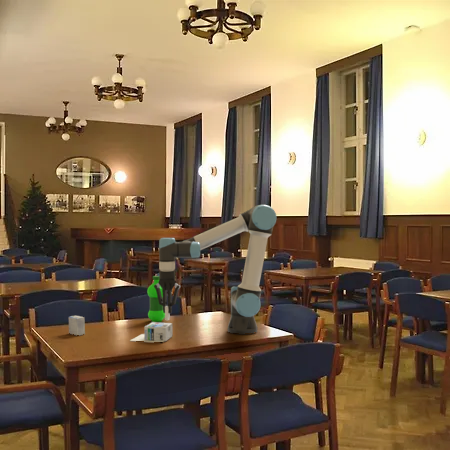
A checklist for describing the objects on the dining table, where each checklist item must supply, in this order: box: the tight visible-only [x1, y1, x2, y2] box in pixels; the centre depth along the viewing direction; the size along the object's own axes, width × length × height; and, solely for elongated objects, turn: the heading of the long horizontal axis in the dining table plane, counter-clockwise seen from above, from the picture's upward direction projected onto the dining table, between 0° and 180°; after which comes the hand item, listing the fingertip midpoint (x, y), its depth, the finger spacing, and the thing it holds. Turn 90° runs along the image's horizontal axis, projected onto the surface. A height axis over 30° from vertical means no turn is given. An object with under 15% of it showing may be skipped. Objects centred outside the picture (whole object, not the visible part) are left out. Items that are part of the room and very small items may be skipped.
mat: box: [129, 333, 165, 343], centre depth 276 cm, size 16×15×1 cm
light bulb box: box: [143, 321, 173, 342], centre depth 274 cm, size 11×7×11 cm
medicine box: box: [68, 315, 86, 336], centre depth 286 cm, size 8×4×9 cm, turn 47°
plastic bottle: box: [146, 275, 165, 323], centre depth 319 cm, size 10×10×25 cm
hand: (167, 319), depth 273 cm, fingers closed
